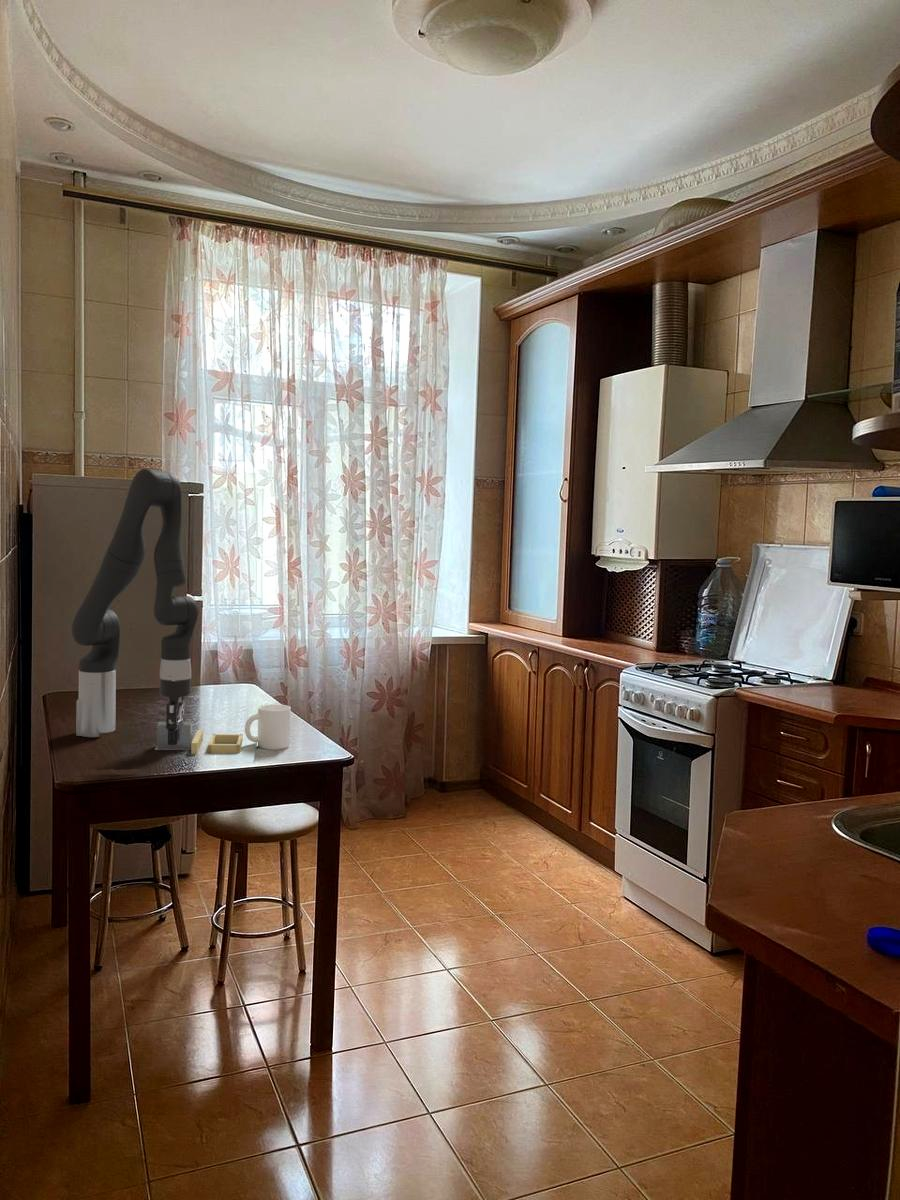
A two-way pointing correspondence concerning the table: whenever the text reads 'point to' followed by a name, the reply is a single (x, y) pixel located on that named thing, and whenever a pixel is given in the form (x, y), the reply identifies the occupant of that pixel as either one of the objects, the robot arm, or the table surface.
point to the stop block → (182, 740)
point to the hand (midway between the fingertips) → (174, 740)
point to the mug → (271, 726)
